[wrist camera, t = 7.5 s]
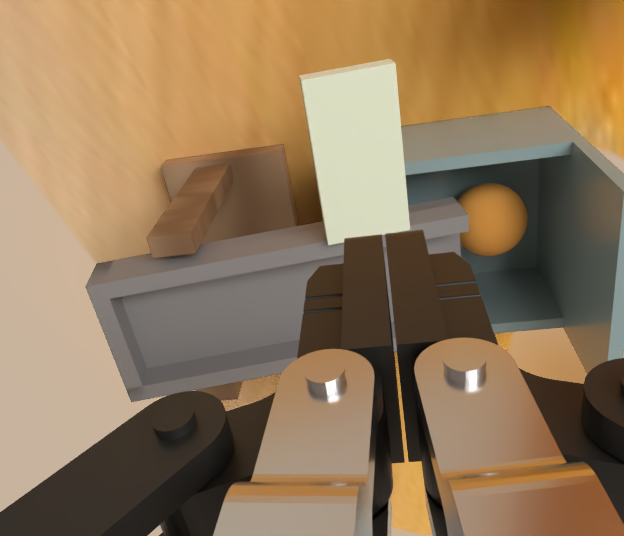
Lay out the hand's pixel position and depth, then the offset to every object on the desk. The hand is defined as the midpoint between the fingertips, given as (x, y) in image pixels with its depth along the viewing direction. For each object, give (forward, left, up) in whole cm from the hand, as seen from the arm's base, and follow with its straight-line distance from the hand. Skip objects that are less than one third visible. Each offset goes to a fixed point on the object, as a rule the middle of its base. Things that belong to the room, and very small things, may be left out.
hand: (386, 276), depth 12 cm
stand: (-9, -9, -23) cm, 26 cm away
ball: (+6, -9, -20) cm, 23 cm away
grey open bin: (+4, -9, -23) cm, 25 cm away
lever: (-5, -5, -15) cm, 17 cm away
